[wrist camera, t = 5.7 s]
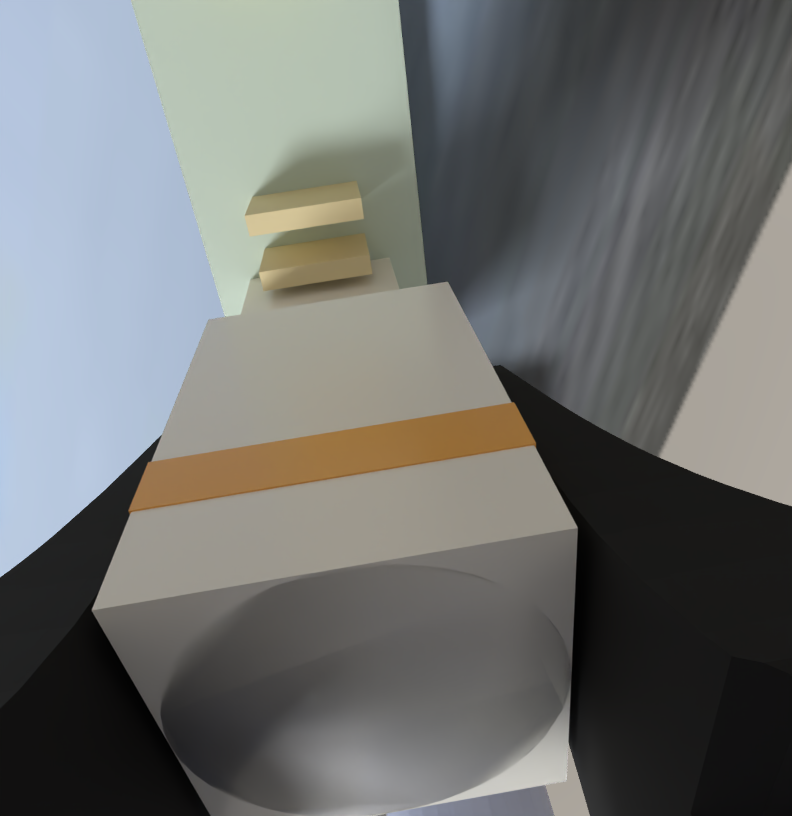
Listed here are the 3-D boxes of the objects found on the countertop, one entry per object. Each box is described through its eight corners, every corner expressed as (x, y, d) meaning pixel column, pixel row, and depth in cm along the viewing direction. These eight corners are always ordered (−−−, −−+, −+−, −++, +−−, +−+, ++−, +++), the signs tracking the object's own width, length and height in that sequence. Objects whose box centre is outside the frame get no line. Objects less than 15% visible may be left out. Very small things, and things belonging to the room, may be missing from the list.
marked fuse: (464, 471, 12) (568, 780, 7) (265, 504, 12) (224, 842, 7) (449, 280, 10) (581, 525, 5) (206, 318, 10) (88, 609, 5)
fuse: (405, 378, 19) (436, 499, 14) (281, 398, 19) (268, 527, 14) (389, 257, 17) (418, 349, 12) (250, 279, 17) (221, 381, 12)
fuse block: (433, 384, 21) (450, 436, 18) (262, 412, 21) (253, 468, 18) (336, -533, 11) (341, -721, 8) (1, -492, 11) (-106, -669, 8)
